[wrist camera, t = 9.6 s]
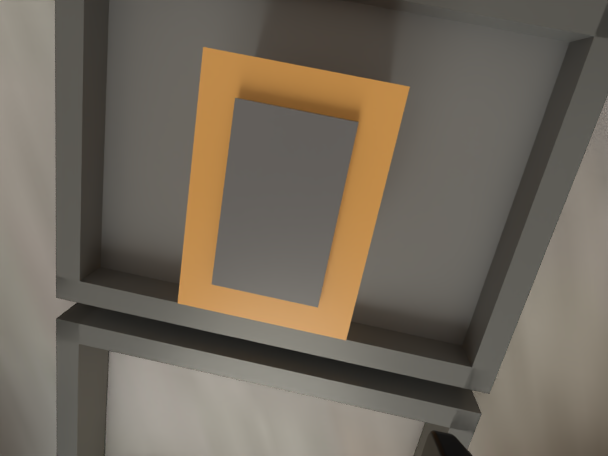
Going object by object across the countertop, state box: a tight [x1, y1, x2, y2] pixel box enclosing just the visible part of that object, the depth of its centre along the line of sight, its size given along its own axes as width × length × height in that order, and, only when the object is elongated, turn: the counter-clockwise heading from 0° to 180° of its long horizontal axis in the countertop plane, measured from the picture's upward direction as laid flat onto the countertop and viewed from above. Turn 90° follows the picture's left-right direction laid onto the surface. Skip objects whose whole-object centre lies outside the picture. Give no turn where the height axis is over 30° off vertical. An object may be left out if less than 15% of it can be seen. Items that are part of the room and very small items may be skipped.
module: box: [178, 47, 410, 340], centre depth 13 cm, size 5×7×6 cm
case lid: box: [55, 0, 608, 394], centre depth 16 cm, size 18×15×2 cm
